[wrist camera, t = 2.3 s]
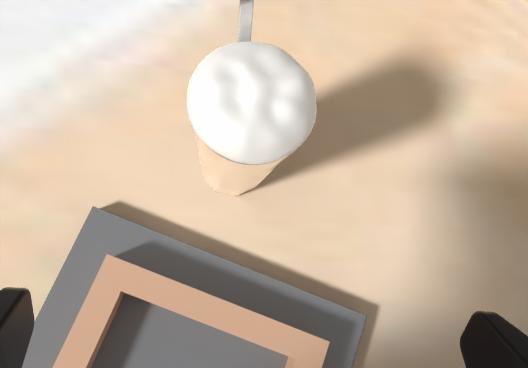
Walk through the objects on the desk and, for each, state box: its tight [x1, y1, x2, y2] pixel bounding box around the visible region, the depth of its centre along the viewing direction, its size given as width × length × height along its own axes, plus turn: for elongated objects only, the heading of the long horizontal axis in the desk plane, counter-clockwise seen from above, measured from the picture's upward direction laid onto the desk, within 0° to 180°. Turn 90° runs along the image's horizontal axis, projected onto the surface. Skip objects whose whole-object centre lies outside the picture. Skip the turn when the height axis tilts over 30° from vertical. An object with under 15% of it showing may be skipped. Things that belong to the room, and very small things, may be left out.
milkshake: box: [187, 0, 317, 196], centre depth 19 cm, size 4×5×10 cm
